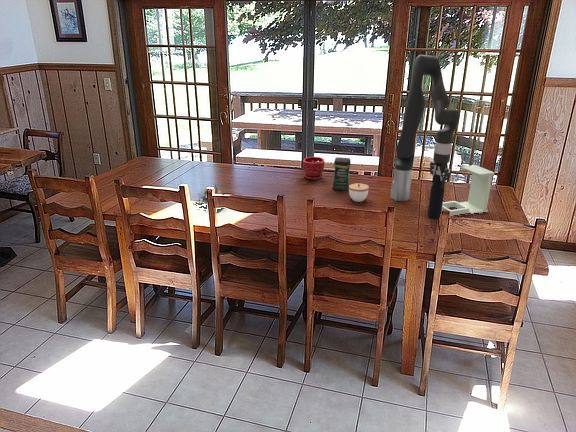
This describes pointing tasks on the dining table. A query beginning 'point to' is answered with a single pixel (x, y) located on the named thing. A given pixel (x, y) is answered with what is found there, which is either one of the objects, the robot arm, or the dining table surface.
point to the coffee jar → (341, 173)
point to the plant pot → (313, 167)
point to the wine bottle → (436, 197)
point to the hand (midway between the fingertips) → (438, 185)
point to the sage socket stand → (473, 192)
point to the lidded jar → (358, 191)
